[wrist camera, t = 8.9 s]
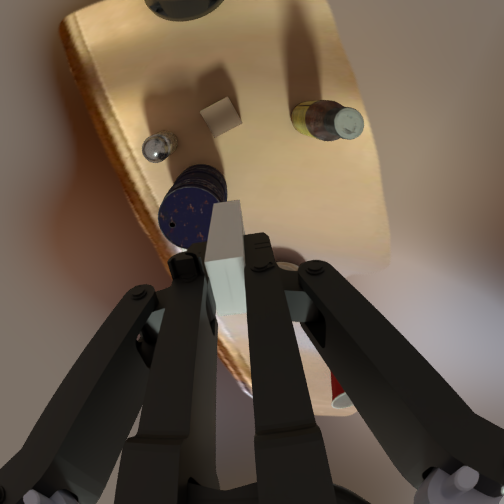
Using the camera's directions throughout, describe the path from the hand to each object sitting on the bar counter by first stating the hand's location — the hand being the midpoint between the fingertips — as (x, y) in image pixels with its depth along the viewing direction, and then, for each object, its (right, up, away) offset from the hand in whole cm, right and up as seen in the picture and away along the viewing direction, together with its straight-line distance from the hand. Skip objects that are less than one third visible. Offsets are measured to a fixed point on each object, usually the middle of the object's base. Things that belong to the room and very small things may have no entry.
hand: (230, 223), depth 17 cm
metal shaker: (-14, +18, +32) cm, 39 cm away
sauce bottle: (+11, +23, +31) cm, 40 cm away
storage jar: (-8, +10, +37) cm, 39 cm away
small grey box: (-4, +22, +30) cm, 38 cm away
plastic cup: (+28, -38, +66) cm, 81 cm away
